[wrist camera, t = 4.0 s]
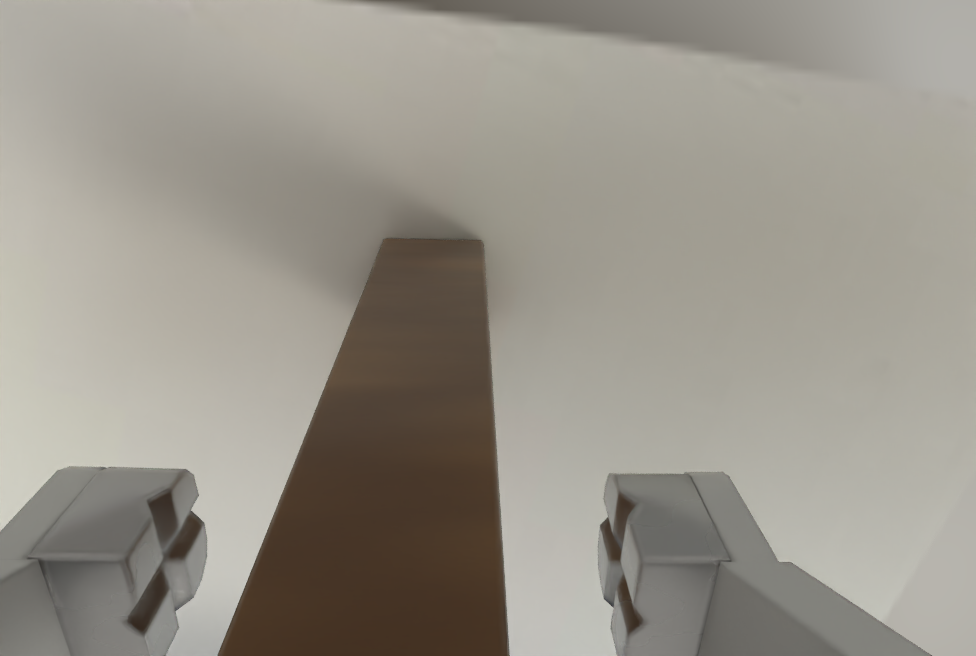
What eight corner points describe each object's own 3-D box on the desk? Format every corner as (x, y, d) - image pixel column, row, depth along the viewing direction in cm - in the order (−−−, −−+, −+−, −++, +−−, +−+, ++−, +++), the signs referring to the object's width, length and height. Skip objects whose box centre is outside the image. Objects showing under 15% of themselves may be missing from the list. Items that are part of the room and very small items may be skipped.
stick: (484, 239, 16) (544, 1192, 3) (481, 330, 17) (518, 1334, 4) (382, 237, 15) (-13, 1210, 3) (386, 329, 16) (107, 1348, 4)
